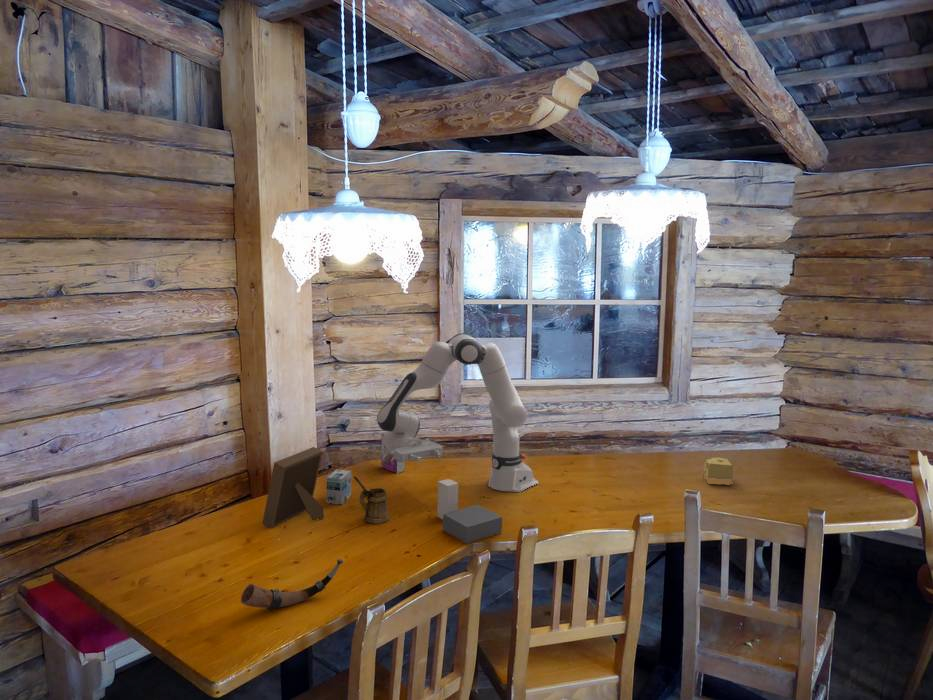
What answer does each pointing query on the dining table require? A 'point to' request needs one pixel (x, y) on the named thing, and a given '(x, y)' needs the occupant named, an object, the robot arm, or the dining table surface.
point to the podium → (472, 523)
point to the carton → (447, 497)
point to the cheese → (718, 468)
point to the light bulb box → (338, 486)
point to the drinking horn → (283, 593)
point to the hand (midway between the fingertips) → (429, 457)
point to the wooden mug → (374, 504)
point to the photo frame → (293, 488)
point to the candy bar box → (389, 460)
